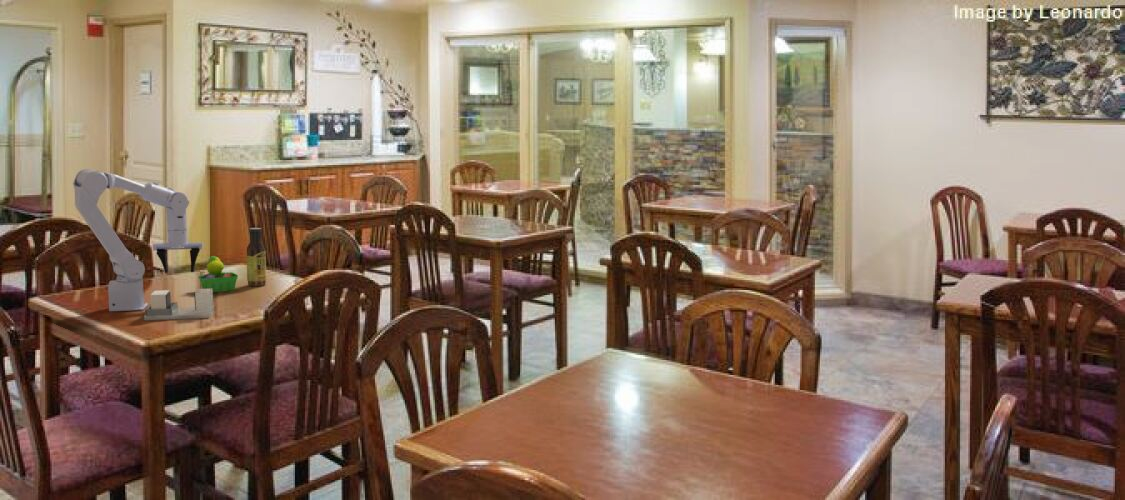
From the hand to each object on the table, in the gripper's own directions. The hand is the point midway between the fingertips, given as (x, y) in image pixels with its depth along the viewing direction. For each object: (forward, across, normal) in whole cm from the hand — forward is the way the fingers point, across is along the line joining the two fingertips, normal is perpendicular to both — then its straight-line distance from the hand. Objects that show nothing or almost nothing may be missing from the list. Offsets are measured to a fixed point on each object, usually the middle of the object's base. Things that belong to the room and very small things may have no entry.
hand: (179, 272), depth 288 cm
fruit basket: (+10, +9, +16) cm, 21 cm away
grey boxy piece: (+9, +2, -20) cm, 22 cm away
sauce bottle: (+10, +22, +21) cm, 32 cm away
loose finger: (+8, -3, -20) cm, 22 cm away
